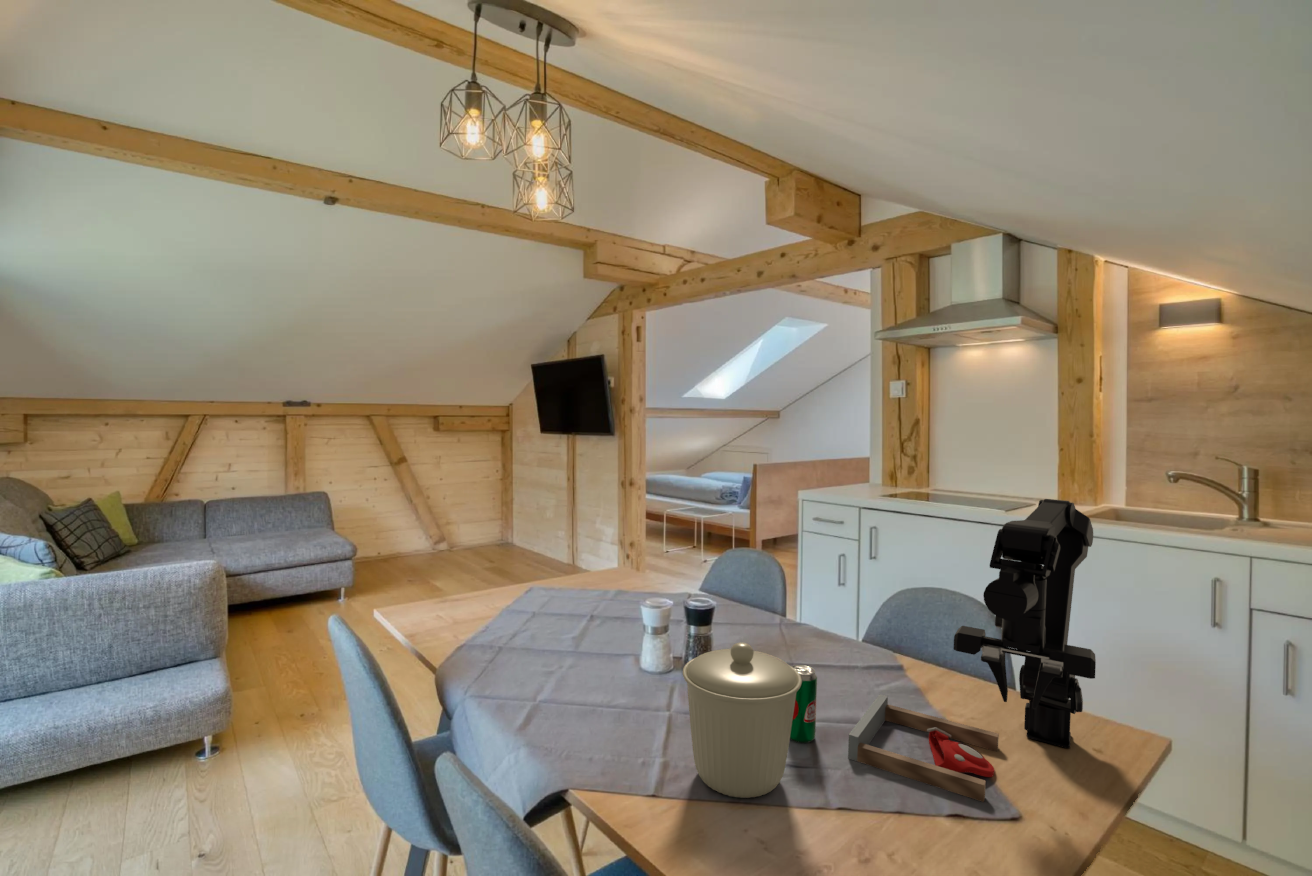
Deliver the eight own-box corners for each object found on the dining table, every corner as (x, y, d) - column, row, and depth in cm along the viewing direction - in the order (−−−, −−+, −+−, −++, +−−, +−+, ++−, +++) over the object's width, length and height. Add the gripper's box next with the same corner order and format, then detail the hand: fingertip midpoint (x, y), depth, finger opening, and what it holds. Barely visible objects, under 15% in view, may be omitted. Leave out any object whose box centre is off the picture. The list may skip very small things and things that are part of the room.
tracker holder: (1005, 762, 102) (983, 769, 95) (995, 787, 102) (972, 796, 96) (935, 717, 111) (910, 721, 104) (925, 740, 111) (900, 745, 105)
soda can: (809, 747, 107) (811, 677, 107) (781, 738, 110) (783, 670, 109) (819, 735, 111) (821, 668, 111) (791, 727, 114) (793, 661, 114)
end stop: (887, 717, 119) (887, 696, 119) (857, 761, 103) (858, 737, 103) (878, 714, 120) (879, 694, 119) (848, 758, 104) (848, 734, 104)
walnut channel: (998, 747, 108) (998, 733, 108) (983, 801, 93) (984, 785, 93) (887, 717, 119) (887, 704, 119) (857, 761, 103) (857, 746, 103)
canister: (663, 797, 92) (667, 654, 91) (698, 739, 109) (701, 618, 108) (789, 827, 86) (793, 674, 85) (805, 761, 103) (809, 633, 102)
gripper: (1096, 604, 99) (1091, 702, 100) (965, 584, 110) (962, 673, 110) (1097, 622, 90) (1092, 730, 90) (954, 599, 100) (951, 695, 101)
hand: (1019, 704), depth 98 cm, fingers open, 4 cm apart
